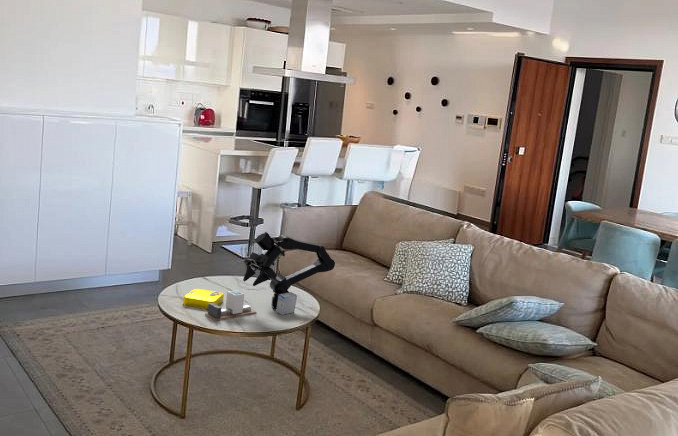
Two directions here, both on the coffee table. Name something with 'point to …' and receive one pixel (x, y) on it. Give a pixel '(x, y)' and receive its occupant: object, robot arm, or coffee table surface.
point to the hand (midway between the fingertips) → (248, 283)
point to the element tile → (202, 298)
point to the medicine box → (286, 303)
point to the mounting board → (231, 315)
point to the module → (235, 301)
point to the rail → (222, 310)
